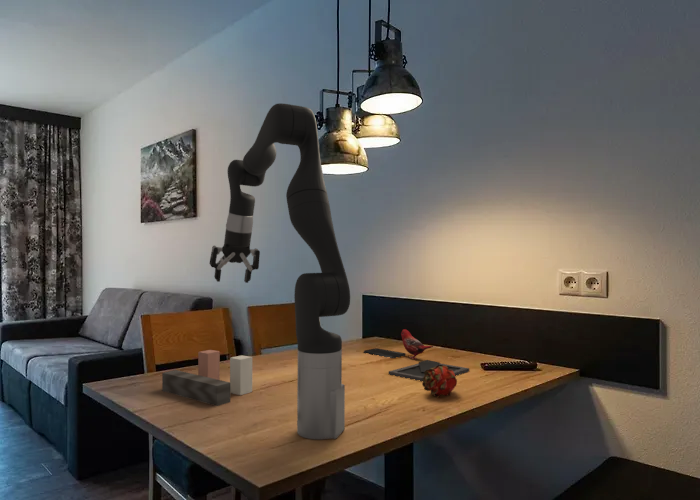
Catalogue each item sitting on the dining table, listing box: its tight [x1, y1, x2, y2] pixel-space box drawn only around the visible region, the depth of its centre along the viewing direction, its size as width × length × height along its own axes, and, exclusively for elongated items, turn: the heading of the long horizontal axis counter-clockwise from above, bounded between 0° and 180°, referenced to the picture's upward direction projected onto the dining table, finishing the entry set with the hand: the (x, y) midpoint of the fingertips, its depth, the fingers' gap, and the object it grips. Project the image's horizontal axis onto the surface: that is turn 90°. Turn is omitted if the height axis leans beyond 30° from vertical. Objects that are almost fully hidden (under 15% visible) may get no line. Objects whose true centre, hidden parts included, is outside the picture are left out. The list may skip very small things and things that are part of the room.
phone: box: [363, 347, 407, 359], centre depth 189 cm, size 8×1×15 cm
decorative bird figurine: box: [400, 328, 434, 360], centre depth 179 cm, size 3×18×10 cm, turn 32°
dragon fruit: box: [421, 365, 458, 398], centre depth 135 cm, size 8×8×12 cm
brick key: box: [197, 349, 221, 380], centre depth 140 cm, size 4×4×9 cm
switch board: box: [161, 369, 231, 407], centre depth 133 cm, size 23×16×6 cm
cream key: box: [229, 354, 253, 396], centre depth 132 cm, size 4×4×9 cm
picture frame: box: [388, 359, 470, 382], centre depth 160 cm, size 16×2×21 cm
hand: (232, 281), depth 153 cm, fingers open, 8 cm apart
